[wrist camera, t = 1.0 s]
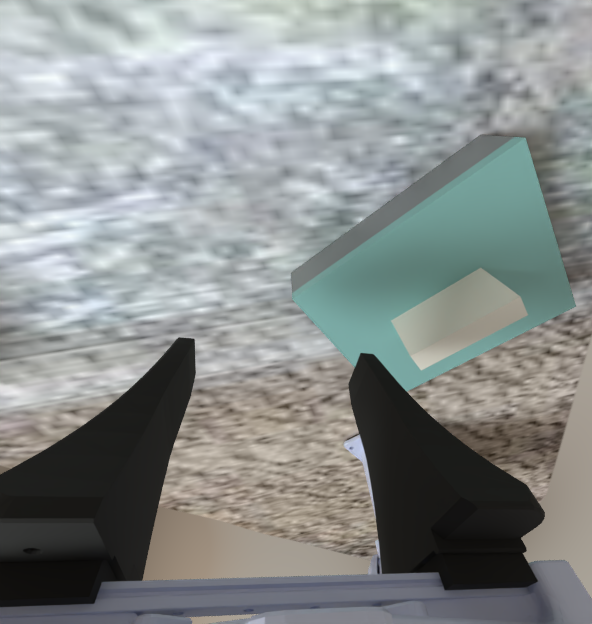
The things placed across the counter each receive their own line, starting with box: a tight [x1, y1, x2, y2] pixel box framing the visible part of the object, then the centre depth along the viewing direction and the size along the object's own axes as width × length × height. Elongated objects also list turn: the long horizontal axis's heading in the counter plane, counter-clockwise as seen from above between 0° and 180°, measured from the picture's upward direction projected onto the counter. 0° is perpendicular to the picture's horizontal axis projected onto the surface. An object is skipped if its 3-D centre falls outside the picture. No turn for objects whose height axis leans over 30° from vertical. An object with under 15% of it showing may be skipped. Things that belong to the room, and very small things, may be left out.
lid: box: [292, 137, 576, 392], centre depth 18 cm, size 12×14×4 cm
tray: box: [291, 135, 514, 293], centre depth 21 cm, size 12×14×3 cm
